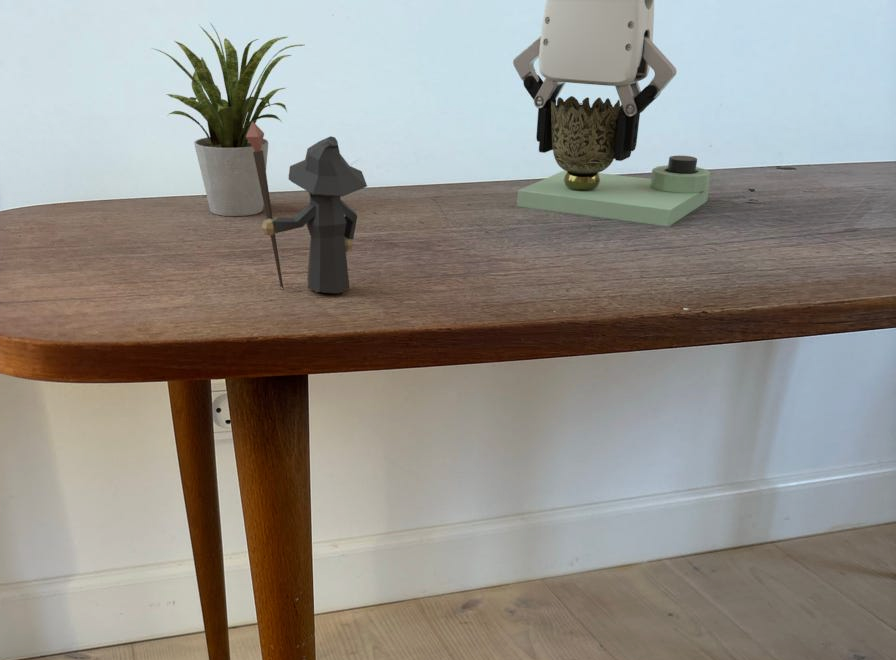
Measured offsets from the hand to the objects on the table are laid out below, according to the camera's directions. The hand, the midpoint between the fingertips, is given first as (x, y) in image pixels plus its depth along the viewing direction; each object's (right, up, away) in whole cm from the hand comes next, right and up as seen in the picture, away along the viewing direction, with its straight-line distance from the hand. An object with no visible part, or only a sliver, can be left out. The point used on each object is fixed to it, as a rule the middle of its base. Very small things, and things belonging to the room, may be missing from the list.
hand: (584, 153), depth 106 cm
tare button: (+10, -1, +2) cm, 11 cm away
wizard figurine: (-25, -22, -24) cm, 41 cm away
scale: (+3, -4, +3) cm, 6 cm away
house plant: (-33, -6, -1) cm, 34 cm away
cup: (0, -3, +2) cm, 3 cm away
